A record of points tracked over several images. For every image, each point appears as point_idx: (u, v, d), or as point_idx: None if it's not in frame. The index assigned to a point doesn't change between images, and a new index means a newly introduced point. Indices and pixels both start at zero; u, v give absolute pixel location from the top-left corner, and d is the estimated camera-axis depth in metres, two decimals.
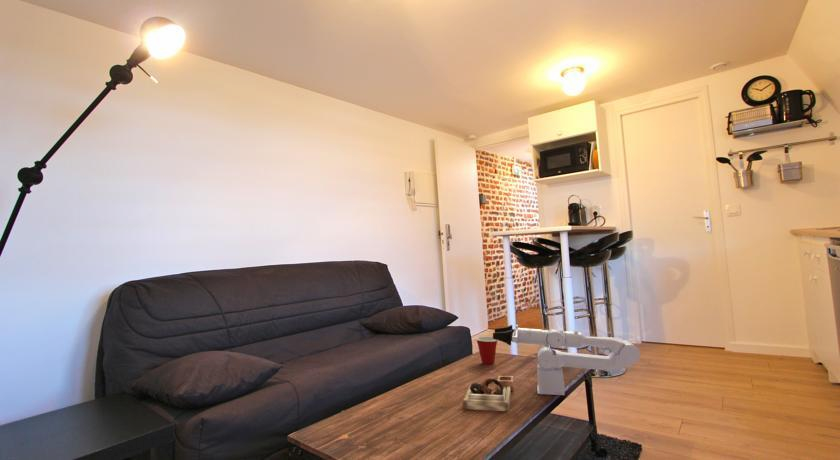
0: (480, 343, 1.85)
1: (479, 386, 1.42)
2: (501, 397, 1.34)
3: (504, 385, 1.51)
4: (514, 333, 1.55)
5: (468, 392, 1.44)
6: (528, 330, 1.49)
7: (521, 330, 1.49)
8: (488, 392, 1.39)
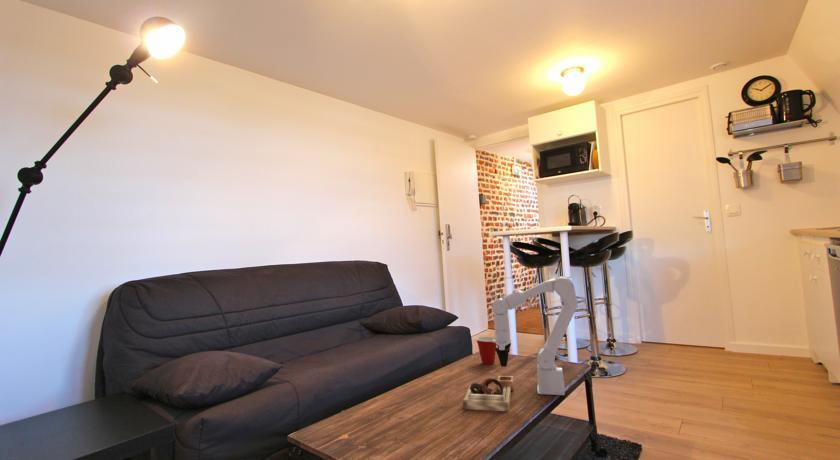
0: (480, 343, 1.85)
1: (479, 386, 1.42)
2: (501, 397, 1.34)
3: (504, 385, 1.51)
4: None
5: (468, 392, 1.44)
6: (495, 330, 1.54)
7: (496, 337, 1.53)
8: (488, 392, 1.39)
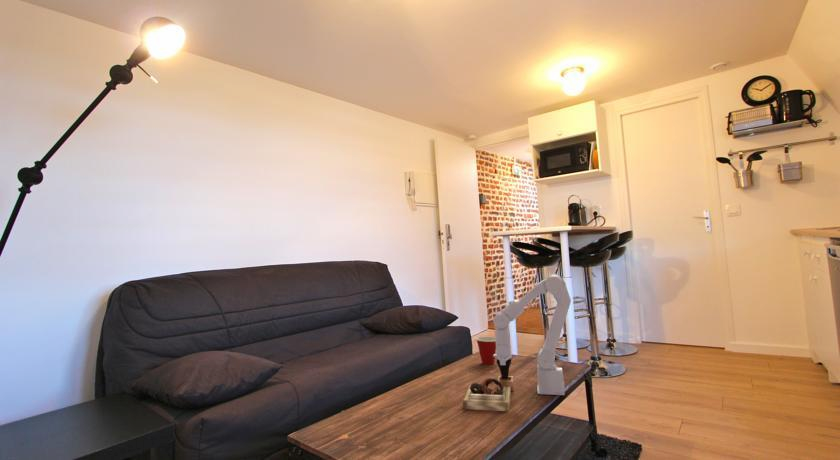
0: (480, 343, 1.85)
1: (479, 386, 1.42)
2: (501, 397, 1.34)
3: (504, 385, 1.51)
4: None
5: (468, 392, 1.44)
6: (496, 345, 1.54)
7: (497, 352, 1.53)
8: (488, 392, 1.39)
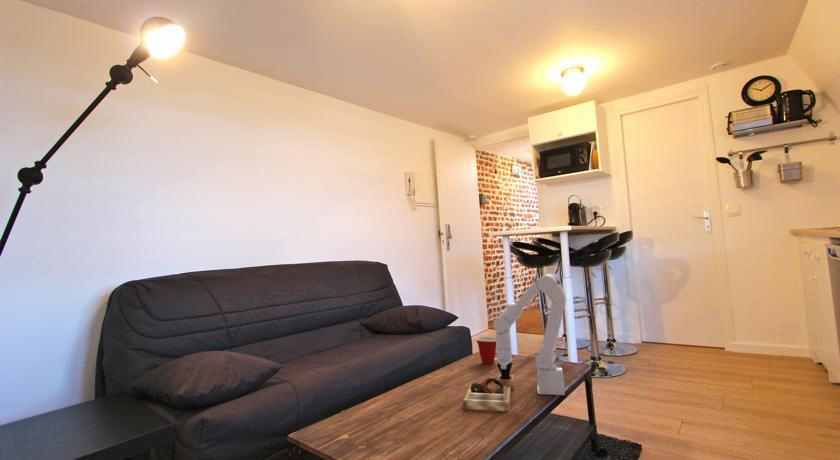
0: (480, 343, 1.85)
1: (480, 386, 1.42)
2: (501, 396, 1.35)
3: (504, 384, 1.52)
4: None
5: (468, 392, 1.44)
6: (497, 349, 1.55)
7: (498, 355, 1.55)
8: (489, 392, 1.39)
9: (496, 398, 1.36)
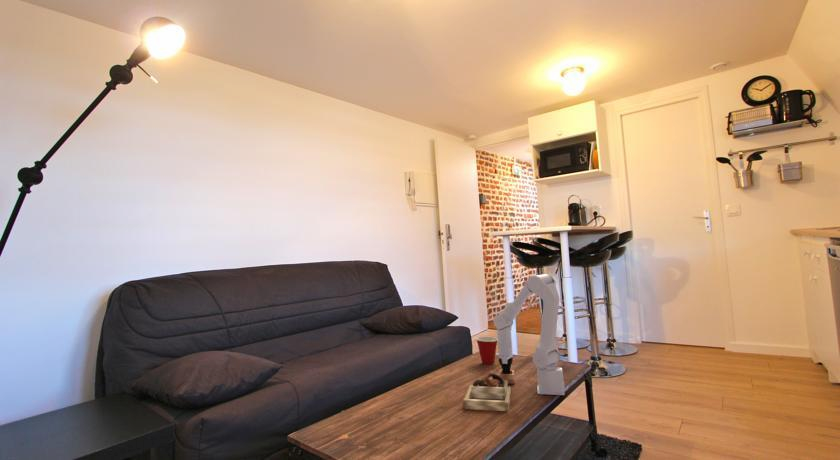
0: (480, 343, 1.85)
1: (483, 382, 1.46)
2: (502, 389, 1.42)
3: (505, 378, 1.58)
4: None
5: (468, 392, 1.44)
6: (498, 344, 1.62)
7: (499, 351, 1.61)
8: (494, 386, 1.44)
9: (497, 391, 1.42)
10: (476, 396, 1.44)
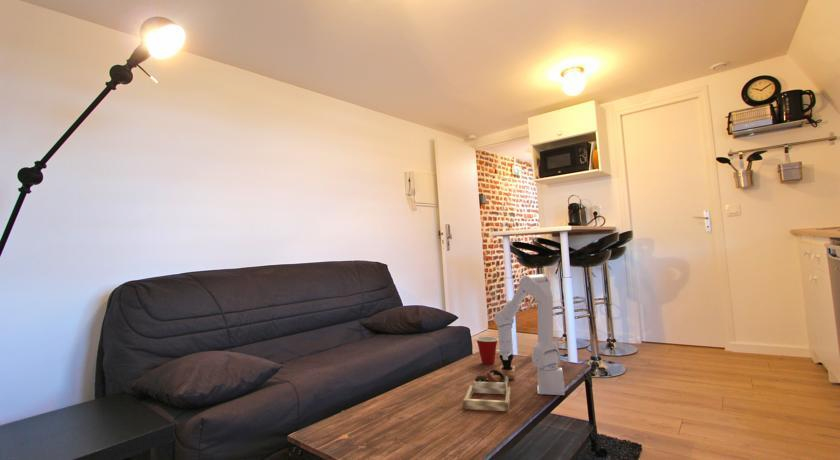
0: (480, 343, 1.85)
1: (484, 377, 1.51)
2: (503, 384, 1.47)
3: (506, 374, 1.63)
4: None
5: (468, 392, 1.44)
6: (499, 341, 1.67)
7: (500, 348, 1.66)
8: None
9: (499, 386, 1.47)
10: (478, 391, 1.49)
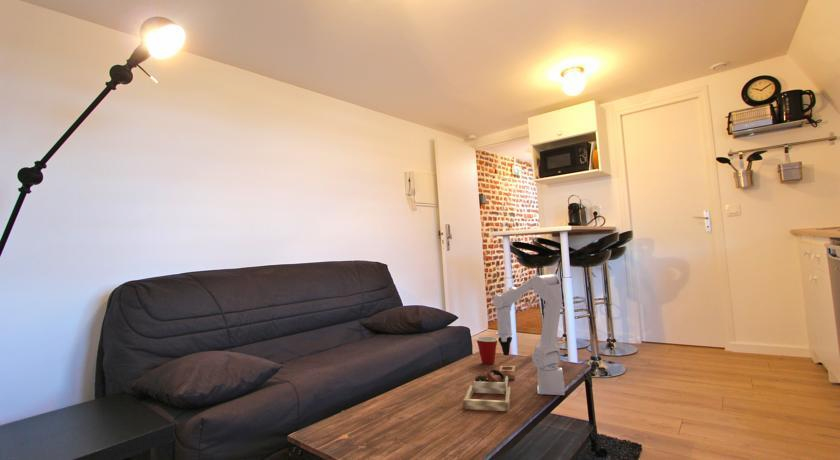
0: (480, 343, 1.85)
1: (484, 377, 1.51)
2: (503, 384, 1.47)
3: (506, 374, 1.63)
4: None
5: (468, 392, 1.44)
6: (498, 324, 1.66)
7: (498, 330, 1.66)
8: (495, 381, 1.49)
9: (499, 386, 1.47)
10: (478, 391, 1.49)
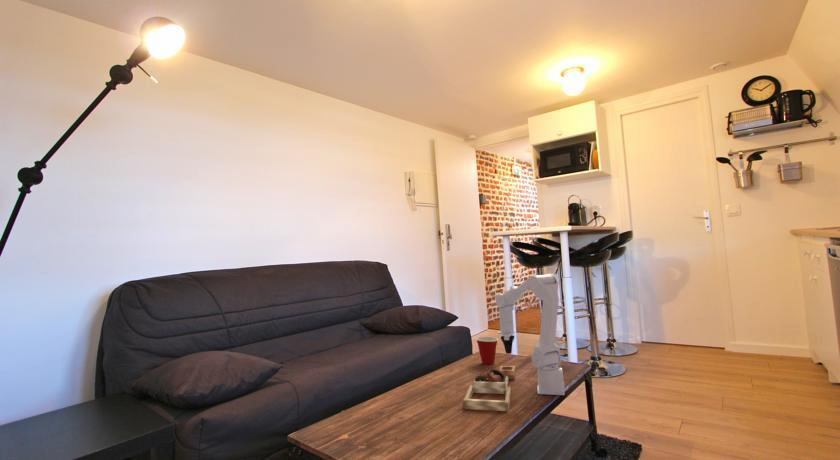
0: (480, 343, 1.85)
1: (484, 377, 1.51)
2: (503, 384, 1.47)
3: (506, 374, 1.63)
4: None
5: (468, 392, 1.44)
6: (500, 323, 1.68)
7: (501, 329, 1.68)
8: (495, 381, 1.49)
9: (499, 386, 1.47)
10: (478, 391, 1.49)
